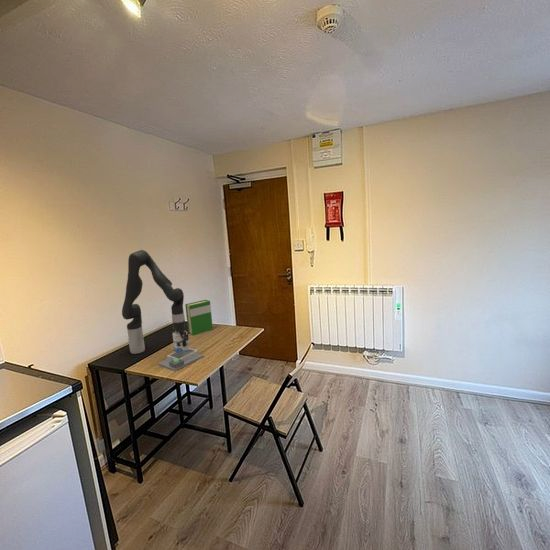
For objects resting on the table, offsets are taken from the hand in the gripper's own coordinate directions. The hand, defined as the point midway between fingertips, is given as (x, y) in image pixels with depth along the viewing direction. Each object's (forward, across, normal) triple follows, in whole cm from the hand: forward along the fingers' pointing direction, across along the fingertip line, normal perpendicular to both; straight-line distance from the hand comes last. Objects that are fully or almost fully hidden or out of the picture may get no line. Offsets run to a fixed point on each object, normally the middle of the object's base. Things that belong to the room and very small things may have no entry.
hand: (181, 345), depth 193 cm
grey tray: (+9, +2, -3) cm, 10 cm away
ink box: (+3, 0, 0) cm, 3 cm away
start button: (+7, +7, -10) cm, 14 cm away
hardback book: (+9, -29, +40) cm, 50 cm away
